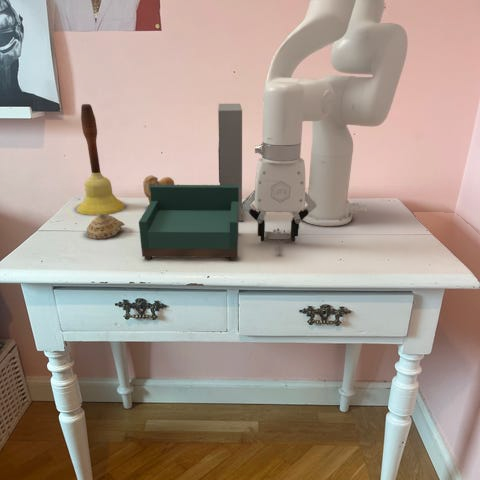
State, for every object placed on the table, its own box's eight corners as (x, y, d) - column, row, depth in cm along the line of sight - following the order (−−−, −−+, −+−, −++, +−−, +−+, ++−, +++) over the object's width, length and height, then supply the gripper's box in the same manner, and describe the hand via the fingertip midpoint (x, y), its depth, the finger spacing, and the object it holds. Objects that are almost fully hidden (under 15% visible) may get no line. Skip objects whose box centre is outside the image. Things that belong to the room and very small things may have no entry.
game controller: (286, 234, 109) (286, 223, 108) (305, 253, 99) (306, 241, 98) (262, 236, 108) (262, 225, 106) (279, 255, 98) (280, 243, 97)
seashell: (132, 219, 111) (110, 215, 104) (129, 243, 112) (107, 241, 105) (103, 214, 114) (80, 210, 107) (100, 238, 115) (77, 235, 107)
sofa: (238, 233, 109) (238, 185, 104) (237, 260, 96) (237, 206, 90) (155, 232, 110) (151, 184, 104) (142, 260, 96) (136, 206, 90)
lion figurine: (159, 214, 122) (156, 178, 117) (140, 212, 123) (137, 176, 118) (182, 198, 134) (180, 165, 129) (165, 196, 135) (162, 164, 130)
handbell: (79, 202, 131) (63, 102, 118) (126, 200, 132) (114, 101, 120) (74, 216, 120) (54, 108, 107) (124, 213, 122) (110, 107, 109)
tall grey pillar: (217, 205, 128) (215, 103, 116) (240, 205, 129) (240, 103, 116) (217, 221, 116) (214, 110, 104) (242, 221, 117) (242, 110, 104)
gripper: (237, 156, 91) (237, 245, 100) (328, 156, 90) (319, 246, 99) (237, 148, 97) (237, 233, 106) (322, 148, 97) (315, 233, 106)
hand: (277, 238), depth 103 cm, fingers open, 5 cm apart
